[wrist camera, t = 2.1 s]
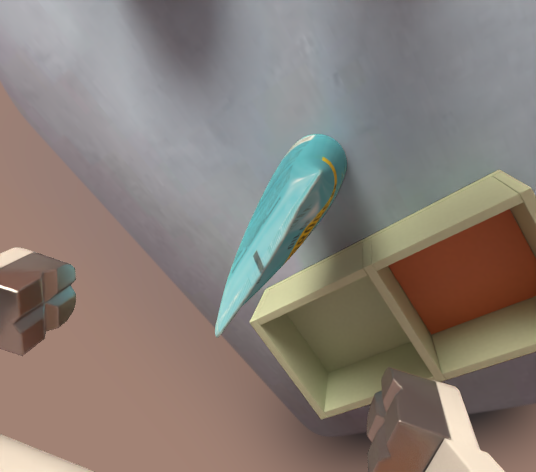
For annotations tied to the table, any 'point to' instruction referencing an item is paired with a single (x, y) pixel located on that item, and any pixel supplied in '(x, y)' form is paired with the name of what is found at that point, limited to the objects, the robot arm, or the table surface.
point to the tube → (284, 218)
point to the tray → (411, 299)
